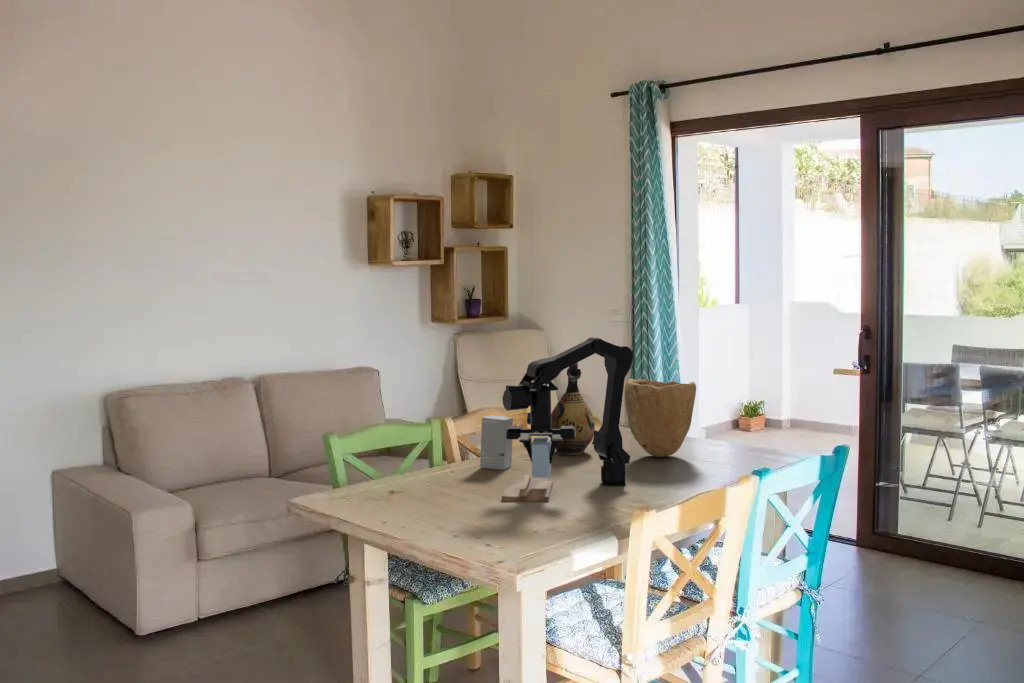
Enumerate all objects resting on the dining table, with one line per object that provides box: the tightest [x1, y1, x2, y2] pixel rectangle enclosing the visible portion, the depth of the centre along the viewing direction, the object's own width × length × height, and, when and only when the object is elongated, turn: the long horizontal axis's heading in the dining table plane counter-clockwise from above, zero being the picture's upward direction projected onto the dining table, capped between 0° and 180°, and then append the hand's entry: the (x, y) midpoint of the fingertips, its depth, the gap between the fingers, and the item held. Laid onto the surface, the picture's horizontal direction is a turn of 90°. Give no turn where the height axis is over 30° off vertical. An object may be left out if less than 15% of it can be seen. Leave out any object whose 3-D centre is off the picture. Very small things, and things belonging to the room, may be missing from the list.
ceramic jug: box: [548, 362, 596, 456], centre depth 322 cm, size 17×15×30 cm
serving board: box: [501, 474, 554, 502], centre depth 271 cm, size 12×18×3 cm
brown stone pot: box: [624, 378, 697, 458], centre depth 312 cm, size 22×22×25 cm
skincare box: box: [479, 414, 514, 471], centre depth 302 cm, size 8×7×16 cm
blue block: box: [531, 437, 552, 479], centre depth 269 cm, size 4×10×9 cm, turn 174°
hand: (541, 463), depth 270 cm, fingers closed on blue block, 4 cm apart
